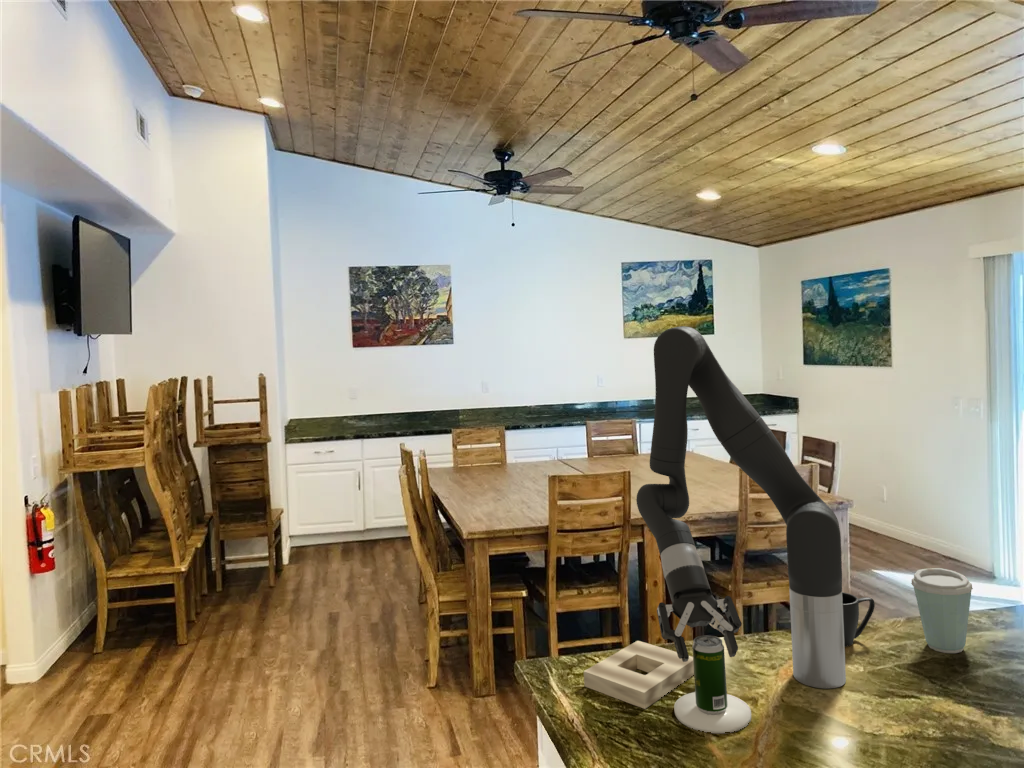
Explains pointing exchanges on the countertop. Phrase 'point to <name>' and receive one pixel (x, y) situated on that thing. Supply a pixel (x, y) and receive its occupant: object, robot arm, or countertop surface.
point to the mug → (854, 616)
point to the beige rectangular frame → (634, 687)
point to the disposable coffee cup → (943, 607)
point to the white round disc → (721, 723)
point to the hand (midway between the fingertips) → (709, 657)
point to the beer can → (709, 675)
